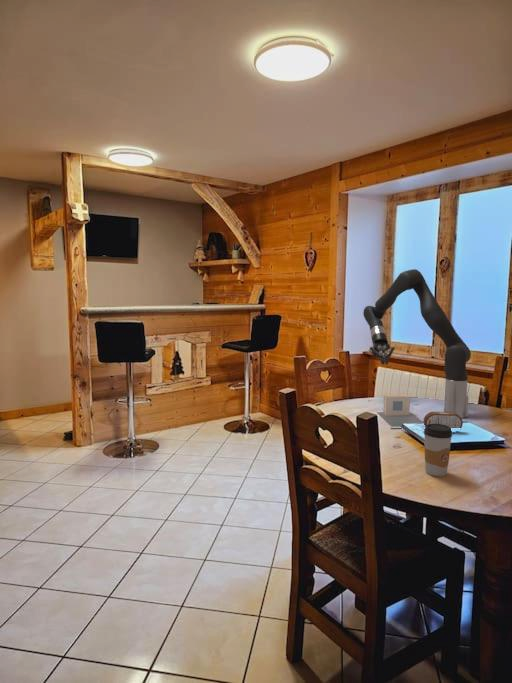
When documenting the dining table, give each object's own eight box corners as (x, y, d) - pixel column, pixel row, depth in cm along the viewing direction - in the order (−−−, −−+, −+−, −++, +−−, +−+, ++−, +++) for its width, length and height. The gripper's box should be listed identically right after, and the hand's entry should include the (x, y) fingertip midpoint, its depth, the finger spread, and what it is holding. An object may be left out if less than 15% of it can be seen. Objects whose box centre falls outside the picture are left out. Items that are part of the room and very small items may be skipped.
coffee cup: (436, 480, 136) (438, 432, 134) (416, 470, 143) (418, 425, 142) (456, 475, 139) (458, 429, 137) (435, 466, 147) (437, 421, 145)
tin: (460, 431, 183) (461, 411, 182) (463, 434, 180) (464, 413, 179) (422, 430, 184) (423, 410, 183) (424, 432, 181) (425, 412, 180)
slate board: (410, 414, 208) (410, 412, 208) (429, 429, 186) (429, 426, 186) (376, 414, 208) (376, 412, 208) (391, 429, 186) (391, 426, 186)
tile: (407, 413, 205) (407, 394, 204) (409, 415, 202) (410, 396, 201) (383, 413, 205) (383, 394, 204) (385, 415, 202) (385, 396, 201)
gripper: (367, 332, 228) (373, 359, 217) (393, 331, 228) (400, 359, 217) (364, 341, 234) (370, 368, 223) (389, 341, 234) (396, 367, 223)
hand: (385, 363), depth 220 cm, fingers closed
